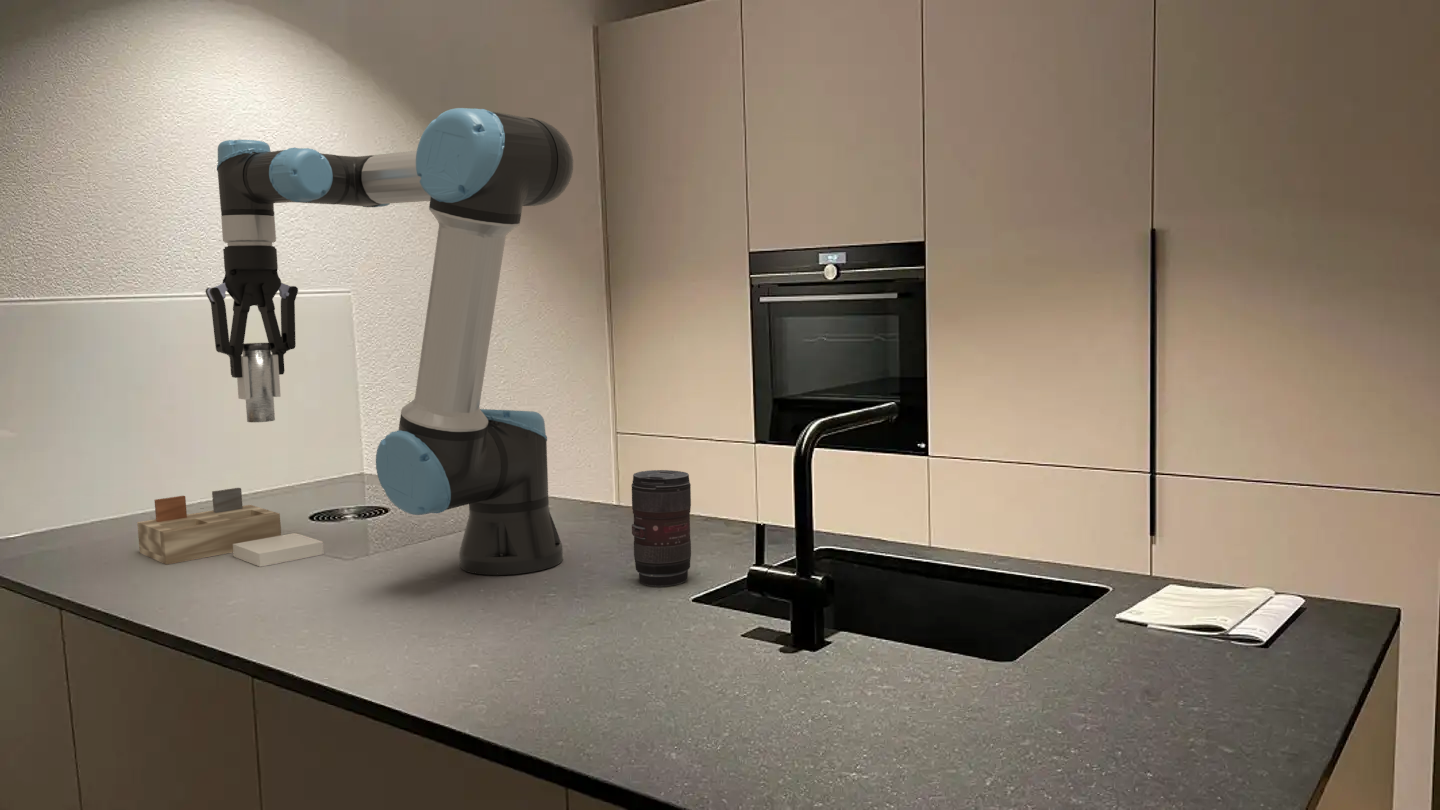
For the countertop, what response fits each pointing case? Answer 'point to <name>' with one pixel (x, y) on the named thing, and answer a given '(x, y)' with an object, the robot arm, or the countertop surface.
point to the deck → (277, 549)
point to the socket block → (204, 528)
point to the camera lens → (661, 526)
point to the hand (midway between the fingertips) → (259, 397)
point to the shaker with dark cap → (259, 383)
